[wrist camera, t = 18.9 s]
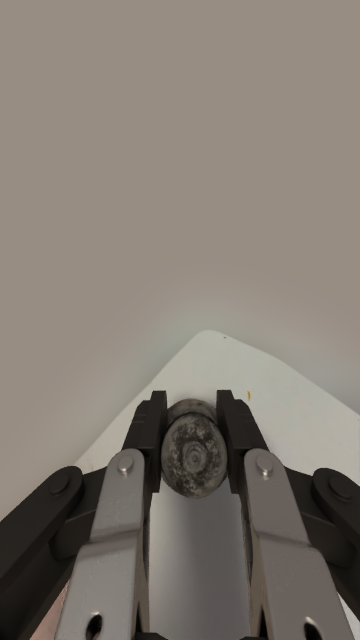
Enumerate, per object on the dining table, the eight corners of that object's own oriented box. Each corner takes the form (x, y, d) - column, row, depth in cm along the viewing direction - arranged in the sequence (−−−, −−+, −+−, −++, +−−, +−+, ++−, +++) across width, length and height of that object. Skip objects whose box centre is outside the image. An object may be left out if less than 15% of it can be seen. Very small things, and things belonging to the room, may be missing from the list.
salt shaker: (238, 435, 16) (317, 447, 6) (198, 503, 14) (217, 696, 4) (187, 391, 19) (183, 344, 8) (146, 444, 16) (71, 471, 6)
